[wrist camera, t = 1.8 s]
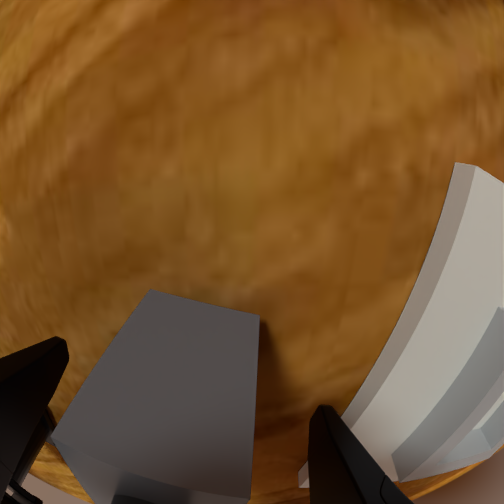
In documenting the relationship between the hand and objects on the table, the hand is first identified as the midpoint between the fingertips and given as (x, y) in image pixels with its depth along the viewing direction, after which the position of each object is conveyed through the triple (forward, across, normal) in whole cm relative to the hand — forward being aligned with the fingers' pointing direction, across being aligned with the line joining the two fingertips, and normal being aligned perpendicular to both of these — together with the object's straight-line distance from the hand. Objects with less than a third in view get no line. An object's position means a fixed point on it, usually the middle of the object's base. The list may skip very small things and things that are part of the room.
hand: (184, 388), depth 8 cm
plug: (+2, 0, 0) cm, 2 cm away
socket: (+2, -15, 0) cm, 15 cm away
